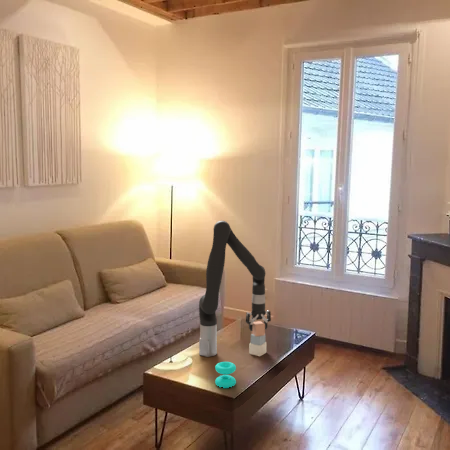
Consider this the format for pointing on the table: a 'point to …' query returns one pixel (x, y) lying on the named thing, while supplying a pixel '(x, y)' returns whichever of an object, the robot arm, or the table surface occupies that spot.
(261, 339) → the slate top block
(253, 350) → the cream base block
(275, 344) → the table surface
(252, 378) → the table surface
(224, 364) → the donuts
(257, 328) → the terracotta block
